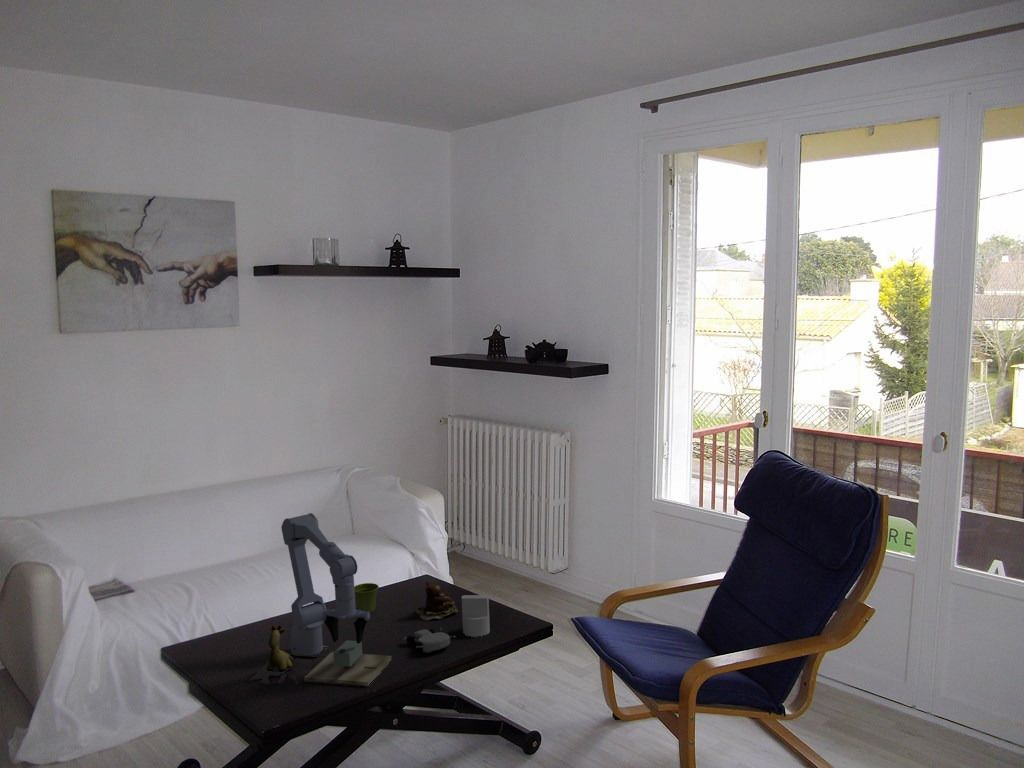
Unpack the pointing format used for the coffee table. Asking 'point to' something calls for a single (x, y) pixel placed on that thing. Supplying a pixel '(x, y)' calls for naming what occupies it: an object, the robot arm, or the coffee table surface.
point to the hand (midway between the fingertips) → (347, 641)
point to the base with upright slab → (475, 615)
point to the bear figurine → (436, 604)
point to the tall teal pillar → (347, 653)
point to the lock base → (350, 670)
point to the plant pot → (366, 596)
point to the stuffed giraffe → (278, 652)
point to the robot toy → (429, 640)
